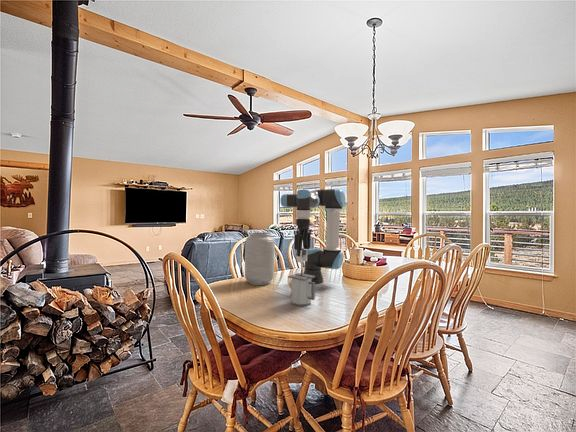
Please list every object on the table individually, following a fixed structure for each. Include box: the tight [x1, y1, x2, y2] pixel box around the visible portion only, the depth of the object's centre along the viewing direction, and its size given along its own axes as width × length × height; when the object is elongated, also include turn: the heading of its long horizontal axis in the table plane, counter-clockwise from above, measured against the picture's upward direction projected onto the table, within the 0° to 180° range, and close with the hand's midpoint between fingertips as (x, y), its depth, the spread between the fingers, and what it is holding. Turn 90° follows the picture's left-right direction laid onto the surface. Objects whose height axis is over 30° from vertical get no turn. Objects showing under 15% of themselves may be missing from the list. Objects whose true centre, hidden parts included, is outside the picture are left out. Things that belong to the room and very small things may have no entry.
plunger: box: [300, 247, 306, 277], centre depth 163 cm, size 7×7×17 cm
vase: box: [244, 232, 276, 286], centre depth 205 cm, size 20×20×34 cm
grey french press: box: [287, 272, 316, 307], centre depth 162 cm, size 11×14×15 cm
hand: (302, 261), depth 163 cm, fingers closed on plunger, 4 cm apart
